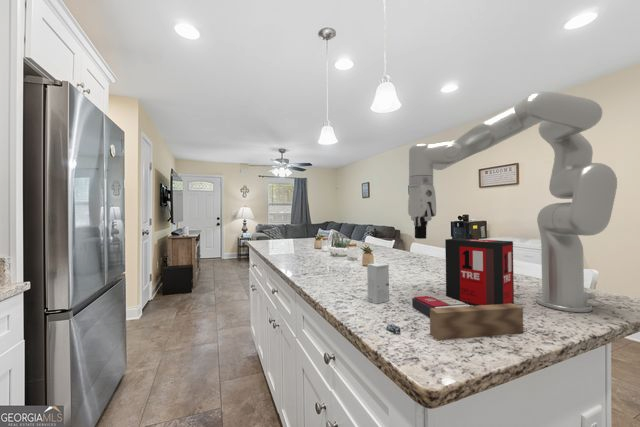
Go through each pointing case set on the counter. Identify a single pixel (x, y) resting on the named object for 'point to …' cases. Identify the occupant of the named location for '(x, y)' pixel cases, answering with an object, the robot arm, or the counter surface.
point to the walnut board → (475, 321)
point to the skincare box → (378, 282)
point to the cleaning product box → (479, 271)
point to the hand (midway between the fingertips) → (420, 238)
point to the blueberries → (393, 329)
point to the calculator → (434, 303)
